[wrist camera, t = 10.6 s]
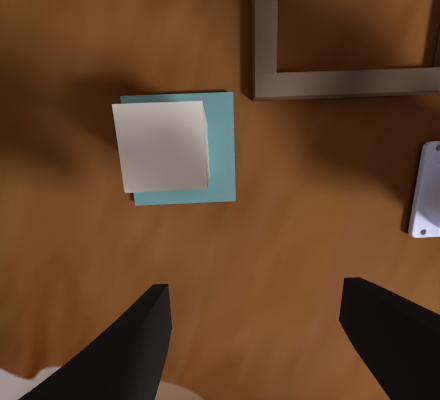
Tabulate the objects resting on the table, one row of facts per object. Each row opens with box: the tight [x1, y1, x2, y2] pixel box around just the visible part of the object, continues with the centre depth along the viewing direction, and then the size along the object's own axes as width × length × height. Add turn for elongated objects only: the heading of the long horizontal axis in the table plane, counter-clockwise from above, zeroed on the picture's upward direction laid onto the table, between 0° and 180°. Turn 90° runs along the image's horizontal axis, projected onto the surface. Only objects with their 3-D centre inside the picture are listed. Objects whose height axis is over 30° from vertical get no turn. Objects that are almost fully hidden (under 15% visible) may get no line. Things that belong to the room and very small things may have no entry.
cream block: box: [112, 101, 210, 193], centre depth 12 cm, size 4×4×6 cm
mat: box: [120, 92, 236, 206], centre depth 16 cm, size 8×8×1 cm
